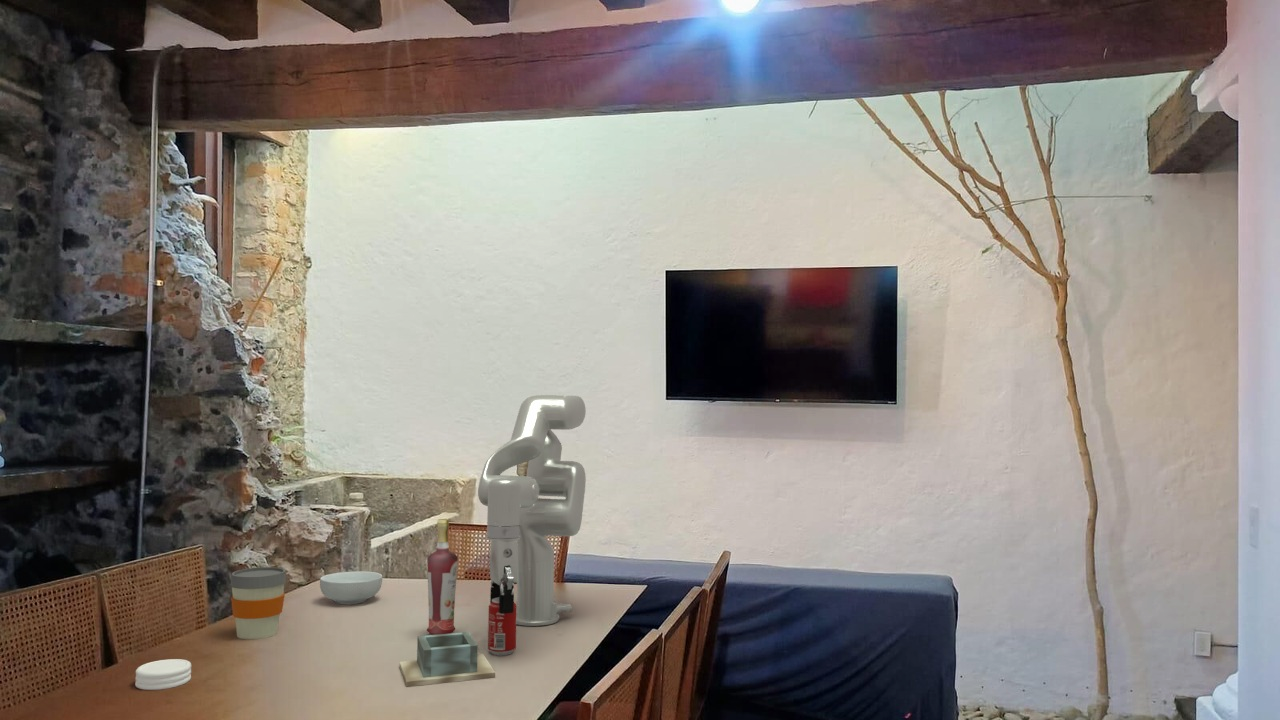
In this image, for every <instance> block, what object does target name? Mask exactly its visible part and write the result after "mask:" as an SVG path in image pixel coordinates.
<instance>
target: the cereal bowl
mask: <svg viewBox="0 0 1280 720" xmlns="http://www.w3.org/2000/svg"><path fill="white" fill-rule="evenodd" d="M382 584H383V575H382V574H381V573H379V572H375V571H374V572H373V571H363V570H362V571H344V572H336V573H335V572H334V573H329V574H326V575H322V576H321V577H320V579H319V588H320V592H321V593H322V595H323V596H324V597H326V598H327V599H329V600H333V602H334V601H335V603H336V604H339V605H358V604H361V603H364V602H366V600H367V599H370V598H373V597H374V596H375V595H377V593H379V591H380V590H381V588H382Z"/></svg>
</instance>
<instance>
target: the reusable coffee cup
mask: <svg viewBox="0 0 1280 720" xmlns="http://www.w3.org/2000/svg"><path fill="white" fill-rule="evenodd" d="M286 574H287V573H286V569H285V568H282V567H274V566H273V567H271V566H266V567H265V566H264V567H262V566H261V567H250V568H244V569H239V570H238V569H237V570H236V571H233V572H232V573H231V578H230V587H231V590H232V591H231V592H232V596H231V597H230V599H231V600H230V601H231V609H232V610H231V611H232V616H233V617H234V618H235V619H234V620H235V628H236V637H237V638H238V639H242V640H258V639H266V638H269V637H272V636H276V635H277V634H278V627H279V622H280V616H281V615H280V614H282V613H283V607H284V601H285V594H286V593H285V591H284V590H285V584H286V583H287V576H286Z"/></svg>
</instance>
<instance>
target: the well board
mask: <svg viewBox="0 0 1280 720" xmlns="http://www.w3.org/2000/svg"><path fill="white" fill-rule="evenodd" d="M416 643H417V644H416V645H417V647H416V648H417V650H416V659H412V660H404V661H399V669H400V671H401V674H402V678H403V680H404V684H405V687H407V688H409V687H416V686H427V685H428V686H429V685H437V684H446V683H447V684H448V683H455V682H463V681H472V680H473V681H474V680H482V679H483V680H485V679H491V678H496V671H495V670H494V669H493V667H492V665H491V664H490V662H489V661H488V659H487V658H486V656H485V655H484V653H478V651H479V650H478V649H479V648H478V644H477V642H476V640H475V639H474V638H473V637H472V635H471V633H470V632H469V631H465V632H455V633H454V632H453V633H450V634H439V635H431V634H429V635H428V634H427V635H420V636H417V642H416Z"/></svg>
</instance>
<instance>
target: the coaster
mask: <svg viewBox="0 0 1280 720" xmlns="http://www.w3.org/2000/svg"><path fill="white" fill-rule="evenodd" d="M191 673H192V663H191V661H189V660H187V659H183V658H182V659H180V658H178V659H177V658H173V659H172V658H170V659H159V660H155V661H151V662H146V663H144V664H142V665H139V666H138V667H137V669H136V670H135V682H134V684H135V687H136V688H138V689H140V690H144V691H145V690H146V691H158V690H160V691H161V690H167V689H171V688H172V689H173V688H176V687H179V686H182V685H185V684H187V683H188V682H189V681H190V680H191V678H192V676H191Z"/></svg>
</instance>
